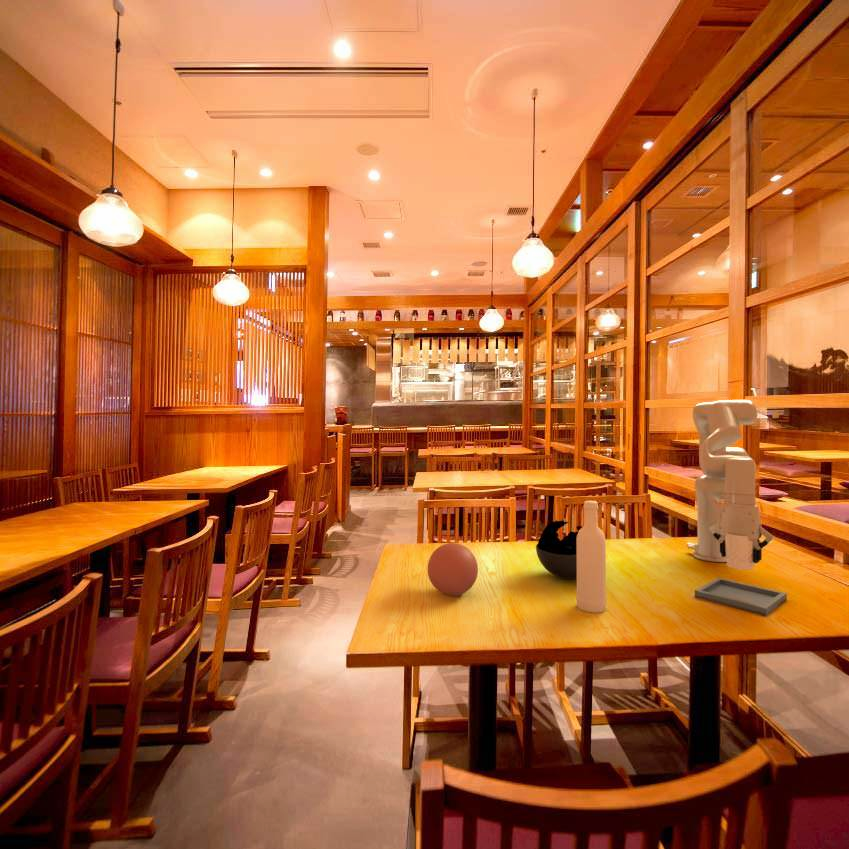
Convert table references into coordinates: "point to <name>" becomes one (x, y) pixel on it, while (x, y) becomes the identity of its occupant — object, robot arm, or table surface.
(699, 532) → the robot arm
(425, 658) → the table surface
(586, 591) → the bottle
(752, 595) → the serving tray
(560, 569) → the bowl of black rocks
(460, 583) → the brown rubber ball
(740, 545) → the white cup
